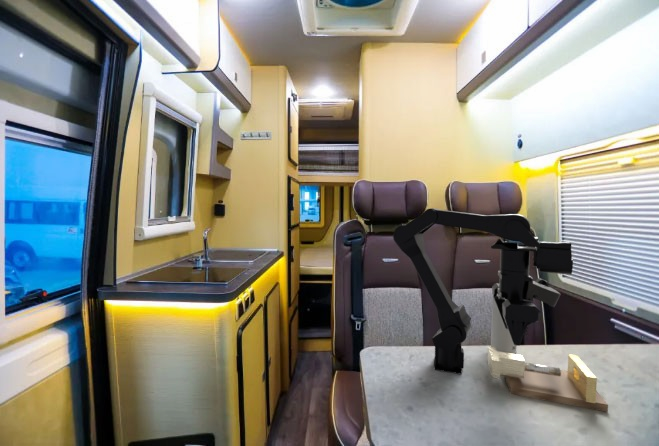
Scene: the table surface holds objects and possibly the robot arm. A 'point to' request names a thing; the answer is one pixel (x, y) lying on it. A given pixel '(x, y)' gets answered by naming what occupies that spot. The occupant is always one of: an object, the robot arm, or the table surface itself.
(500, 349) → the travel mug
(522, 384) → the copper board
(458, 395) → the table surface
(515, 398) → the table surface
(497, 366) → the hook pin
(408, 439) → the table surface
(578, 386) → the gold slab
